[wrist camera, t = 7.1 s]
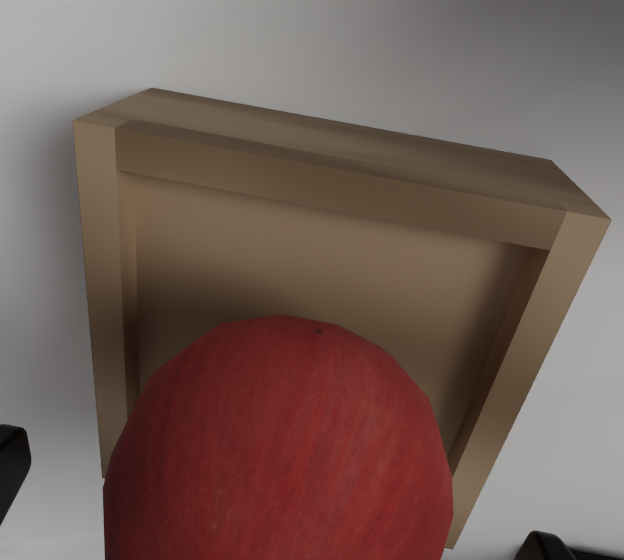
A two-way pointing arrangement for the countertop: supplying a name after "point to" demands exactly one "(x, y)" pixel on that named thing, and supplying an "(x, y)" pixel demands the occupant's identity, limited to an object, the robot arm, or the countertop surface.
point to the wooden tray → (327, 253)
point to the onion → (279, 453)
